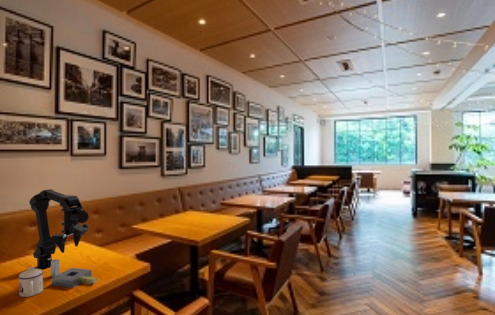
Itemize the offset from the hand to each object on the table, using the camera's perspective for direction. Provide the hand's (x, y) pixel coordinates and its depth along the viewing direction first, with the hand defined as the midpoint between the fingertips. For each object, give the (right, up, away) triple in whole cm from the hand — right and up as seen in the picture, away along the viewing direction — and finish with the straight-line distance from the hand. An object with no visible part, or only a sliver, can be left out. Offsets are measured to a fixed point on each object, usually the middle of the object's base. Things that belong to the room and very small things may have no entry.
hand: (69, 249), depth 151 cm
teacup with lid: (-5, -14, -20) cm, 25 cm away
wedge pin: (-6, -13, -2) cm, 14 cm away
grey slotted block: (+9, -13, -8) cm, 18 cm away
